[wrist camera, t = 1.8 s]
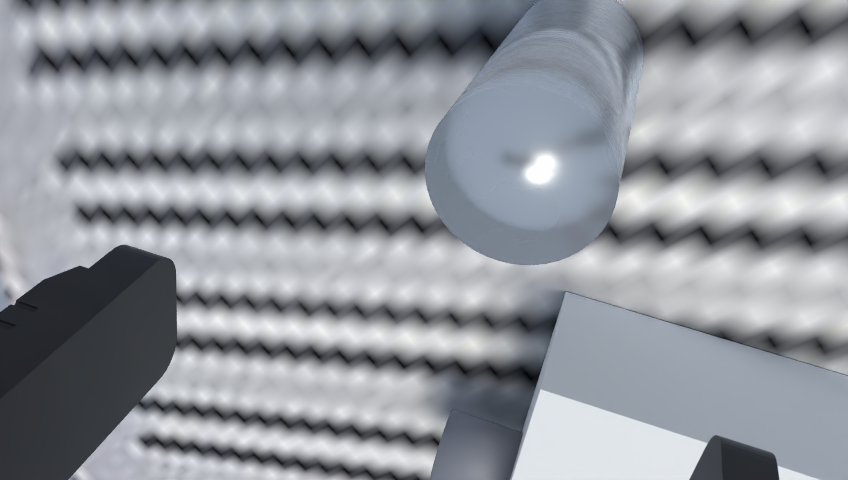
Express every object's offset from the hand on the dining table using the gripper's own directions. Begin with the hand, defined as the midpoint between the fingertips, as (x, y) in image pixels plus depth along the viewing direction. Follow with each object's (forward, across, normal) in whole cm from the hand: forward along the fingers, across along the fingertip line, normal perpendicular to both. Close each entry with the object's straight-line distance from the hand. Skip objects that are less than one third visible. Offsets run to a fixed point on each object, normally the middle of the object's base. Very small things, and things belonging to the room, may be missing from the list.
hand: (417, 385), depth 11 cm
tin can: (+18, 0, 0) cm, 18 cm away
